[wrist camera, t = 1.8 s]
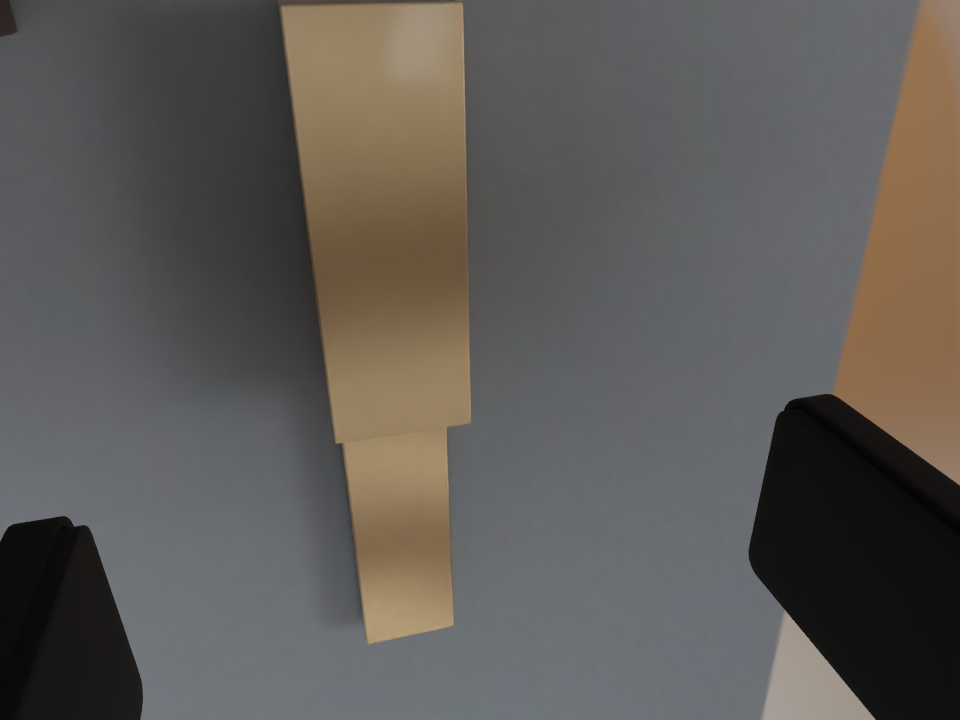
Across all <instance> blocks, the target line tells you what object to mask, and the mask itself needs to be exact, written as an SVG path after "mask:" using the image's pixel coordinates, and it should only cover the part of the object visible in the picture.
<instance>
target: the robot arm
mask: <svg viewBox="0 0 960 720" xmlns="http://www.w3.org/2000/svg"><path fill="white" fill-rule="evenodd" d="M749 560H750V564H751V566H752V569H753V571H754V572H755V574H756V575H757V577H758V578H759V579H760V580H761V581H762V583H763V584H764V585H765V586H766V587H767V589H768V590H769V591H770V592H771V594H772V595H773V596H774V597H775V598H776V600H777V601H778V602H779V603H780V604H781V606H782V607H783V608H784V609H785V610H786V612H787V613H788V614H789V615H790V616H791V618H792V619H793V620H794V621H795V623H796V624H797V625H798V626H799V627H800V629H801V630H802V631H803V632H804V633H805V635H806V636H807V637H808V638H809V639H810V641H811V642H812V643H813V644H814V646H815V647H816V648H817V649H818V650H819V652H820V653H821V654H822V655H823V656H824V658H825V659H826V660H827V661H828V662H829V664H830V665H831V666H832V667H833V668H834V669H835V671H836V672H837V673H838V674H839V676H840V677H841V678H842V679H843V681H844V682H845V683H846V684H847V685H848V687H849V688H850V689H851V690H852V691H853V692H854V694H855V695H856V696H857V697H858V699H859V700H860V701H861V702H862V704H863V705H864V706H865V707H866V708H867V710H868V711H869V712H870V713H871V714H872V716H873V717H874V718H875V719H876V720H960V485H958V484H957V483H956V482H954V481H953V480H951V479H950V478H948V477H947V476H946V475H944V474H943V473H942V472H940V471H939V470H938V469H936V468H935V467H933V466H932V465H931V464H929V463H928V462H927V461H925V460H924V459H922V458H921V457H919V456H918V455H917V454H915V453H914V452H913V451H911V450H910V449H909V448H907V447H906V446H904V445H903V444H902V443H900V442H899V441H897V440H896V439H895V438H893V437H892V436H891V435H889V434H888V433H886V432H885V431H884V430H882V429H881V428H879V427H878V426H876V425H875V424H874V423H872V422H871V421H870V420H868V419H867V418H866V417H864V416H863V415H862V414H860V413H859V412H857V411H856V410H855V409H853V408H852V407H850V406H849V405H848V404H846V403H845V402H844V401H842V400H841V399H839V398H838V397H836V396H834V395H832V394H823V395H817V396H811V397H804V398H798V399H794V400H791V401H789V403H788V404H787V405H786V406H785V409H784V411H782V412H780V414H779V415H778V416H777V419H776V422H775V427H774V432H773V437H772V441H771V446H770V451H769V456H768V460H767V465H766V470H765V475H764V479H763V484H762V489H761V493H760V498H759V503H758V508H757V512H756V517H755V522H754V527H753V531H752V536H751V541H750V546H749ZM142 704H143V690H142V682H141V678H140V674H139V671H138V668H137V665H136V662H135V659H134V656H133V653H132V650H131V647H130V645H129V642H128V639H127V636H126V633H125V630H124V627H123V624H122V621H121V618H120V615H119V612H118V609H117V606H116V603H115V600H114V597H113V594H112V592H111V589H110V586H109V583H108V580H107V577H106V574H105V571H104V568H103V565H102V562H101V559H100V556H99V553H98V550H97V547H96V544H95V541H94V538H93V536H92V533H91V531H90V529H89V528H88V527H87V526H85V525H82V526H76V527H74V526H73V524H72V522H71V520H70V519H69V518H68V517H65V516H61V517H55V518H49V519H43V520H36V521H30V522H24V523H18V524H13V525H11V526H9V527H8V529H7V530H6V532H5V533H4V535H3V537H2V539H1V542H0V720H140V718H141V712H142Z"/></svg>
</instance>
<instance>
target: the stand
mask: <svg viewBox="0 0 960 720" xmlns="http://www.w3.org/2000/svg"><path fill="white" fill-rule="evenodd" d="M16 32H17V28H16V25H15V21H14V18H13V14H12V11H11V7H10V4H9V0H0V37H2V36H6V35H11V34H14V33H16Z"/></svg>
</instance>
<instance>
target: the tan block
mask: <svg viewBox="0 0 960 720" xmlns="http://www.w3.org/2000/svg"><path fill="white" fill-rule="evenodd" d="M278 9H279V17H280V25H281V33H282V40H283V48H284V56H285V64H286V72H287V80H288V87H289V95H290V103H291V111H292V119H293V126H294V134H295V142H296V150H297V158H298V166H299V173H300V181H301V189H302V197H303V205H304V212H305V220H306V228H307V236H308V244H309V252H310V259H311V267H312V275H313V283H314V291H315V298H316V306H317V314H318V322H319V330H320V338H321V345H322V353H323V361H324V369H325V377H326V384H327V391H328V398H329V405H330V412H331V419H332V426H333V433H334V440H335V443H336V444H339V443H342V452H343V460H344V468H345V476H346V484H347V493H348V501H349V509H350V517H351V525H352V534H353V542H354V550H355V558H356V566H357V575H358V583H359V591H360V599H361V607H362V616H363V623H364V630H365V637H366V642H367V644H373V643H377V642H382V641H387V640H391V639H396V638H401V637H405V636H410V635H415V634H420V633H424V632H429V631H434V630H438V629H443V628H448V627H452V626H453V625H454V616H453V589H452V562H451V535H450V508H449V482H448V455H447V428H446V427H452V426H458V425H465V424H470V423H471V400H470V345H469V289H468V233H467V177H466V122H465V66H464V10H463V2H461V1H454V0H278Z"/></svg>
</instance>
